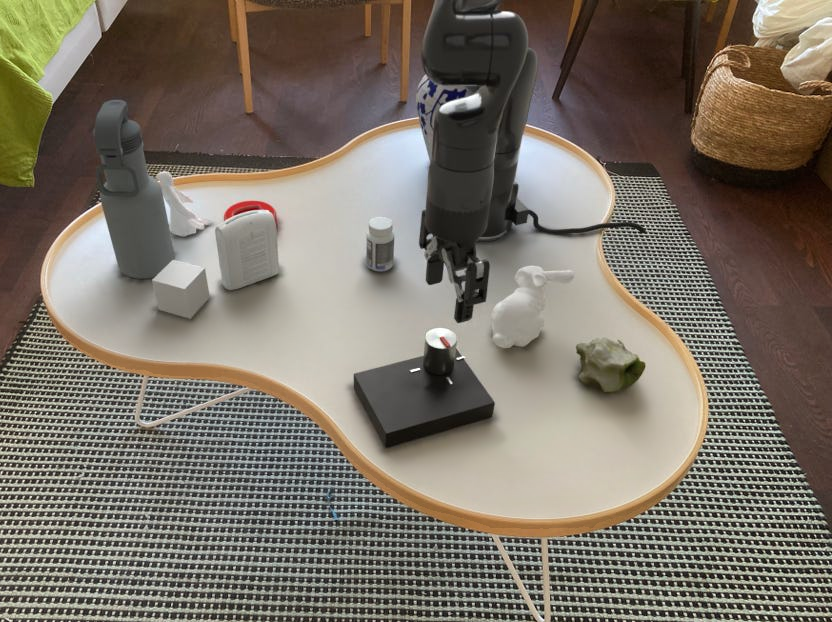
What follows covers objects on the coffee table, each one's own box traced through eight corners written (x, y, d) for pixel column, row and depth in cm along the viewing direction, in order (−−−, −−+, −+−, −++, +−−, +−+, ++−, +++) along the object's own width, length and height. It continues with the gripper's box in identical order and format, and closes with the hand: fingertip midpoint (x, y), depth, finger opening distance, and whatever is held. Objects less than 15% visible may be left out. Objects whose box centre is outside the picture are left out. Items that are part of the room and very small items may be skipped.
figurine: (164, 221, 138) (152, 163, 130) (206, 214, 140) (197, 156, 131) (169, 243, 132) (157, 183, 124) (213, 235, 134) (204, 176, 126)
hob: (450, 353, 111) (452, 338, 109) (494, 417, 101) (497, 401, 99) (349, 380, 107) (349, 364, 104) (385, 448, 97) (385, 433, 95)
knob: (417, 359, 105) (419, 331, 102) (444, 350, 107) (447, 322, 103) (432, 378, 102) (435, 350, 99) (459, 369, 104) (463, 341, 100)
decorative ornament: (279, 214, 140) (277, 199, 137) (275, 242, 133) (274, 227, 130) (228, 214, 140) (226, 199, 137) (222, 242, 133) (220, 227, 130)
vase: (425, 195, 144) (438, 39, 124) (401, 151, 158) (409, 3, 138) (517, 186, 147) (543, 31, 127) (485, 143, 161) (505, -3, 140)
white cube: (178, 289, 123) (173, 259, 118) (210, 297, 121) (205, 267, 117) (158, 309, 118) (151, 279, 114) (190, 319, 117) (184, 288, 113)
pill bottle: (397, 260, 128) (399, 219, 123) (387, 274, 125) (388, 233, 120) (372, 253, 130) (373, 212, 124) (361, 268, 127) (362, 226, 121)
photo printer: (271, 262, 128) (265, 199, 120) (283, 274, 126) (278, 211, 117) (218, 281, 124) (208, 218, 116) (229, 294, 121) (220, 231, 113)
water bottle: (169, 282, 124) (136, 125, 105) (112, 282, 124) (68, 125, 105) (180, 248, 131) (151, 95, 112) (126, 248, 131) (87, 95, 112)
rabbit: (511, 304, 119) (523, 242, 111) (565, 326, 115) (581, 264, 107) (475, 344, 112) (485, 282, 104) (531, 369, 108) (546, 306, 100)
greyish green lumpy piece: (641, 407, 104) (653, 374, 98) (573, 403, 106) (581, 371, 100) (636, 355, 110) (647, 321, 103) (571, 352, 111) (578, 318, 105)
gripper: (518, 216, 82) (499, 326, 93) (460, 158, 91) (449, 264, 102) (457, 230, 80) (445, 341, 91) (404, 170, 89) (400, 276, 101)
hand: (447, 300), depth 97 cm, fingers open, 8 cm apart
